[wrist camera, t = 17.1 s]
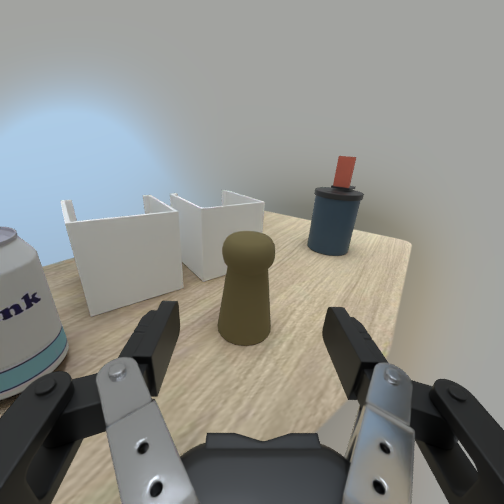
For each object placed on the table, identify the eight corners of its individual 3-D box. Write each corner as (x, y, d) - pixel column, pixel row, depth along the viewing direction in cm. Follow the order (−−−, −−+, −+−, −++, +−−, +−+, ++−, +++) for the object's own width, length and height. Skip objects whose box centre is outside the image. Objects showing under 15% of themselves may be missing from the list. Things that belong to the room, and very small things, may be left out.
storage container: (90, 316, 26) (65, 223, 22) (81, 275, 34) (60, 200, 30) (259, 264, 41) (264, 202, 36) (226, 243, 49) (226, 190, 44)
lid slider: (349, 190, 44) (356, 157, 42) (331, 187, 46) (337, 155, 44) (355, 188, 47) (362, 157, 45) (337, 186, 49) (343, 156, 47)
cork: (238, 355, 23) (243, 252, 18) (207, 320, 27) (205, 230, 22) (281, 329, 26) (294, 238, 22) (248, 302, 30) (254, 221, 26)
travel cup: (341, 260, 44) (356, 197, 40) (298, 247, 49) (307, 189, 44) (354, 247, 51) (368, 192, 46) (315, 237, 56) (325, 185, 51)
